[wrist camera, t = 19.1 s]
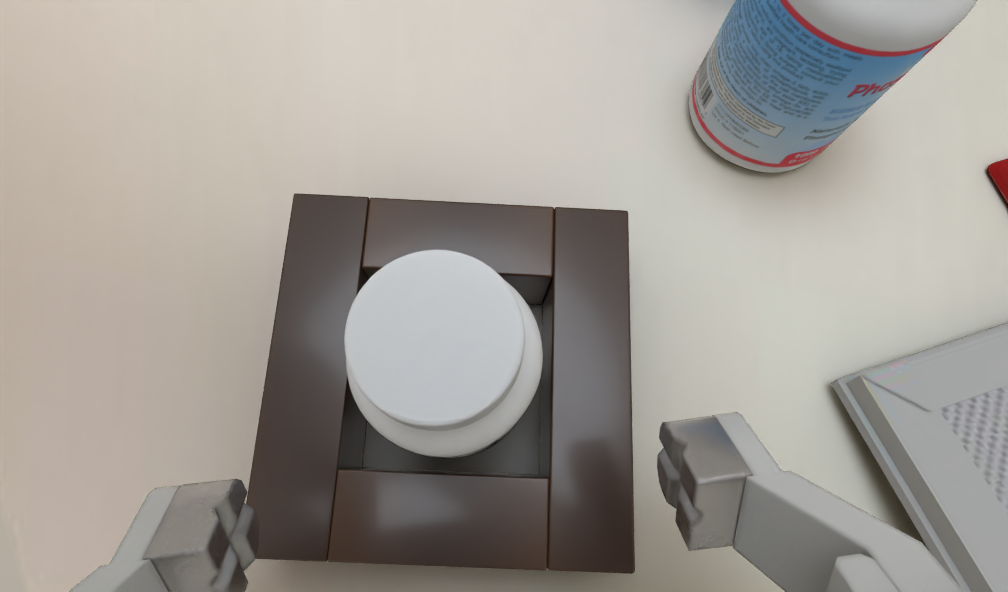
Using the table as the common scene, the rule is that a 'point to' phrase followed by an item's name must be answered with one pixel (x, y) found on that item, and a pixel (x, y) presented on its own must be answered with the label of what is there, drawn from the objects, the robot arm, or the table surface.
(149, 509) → the robot arm
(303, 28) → the table surface
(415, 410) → the pill bottle
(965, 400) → the gadget
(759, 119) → the pill bottle
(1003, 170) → the card
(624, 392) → the holder
